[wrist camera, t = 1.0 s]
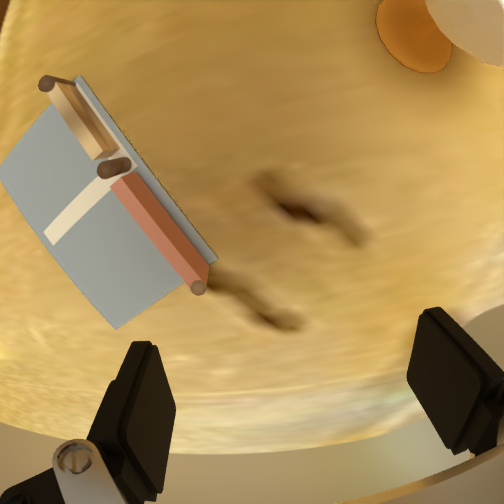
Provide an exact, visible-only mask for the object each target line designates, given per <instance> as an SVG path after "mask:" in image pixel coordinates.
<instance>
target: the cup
mask: <svg viewBox="0 0 504 504" xmlns="http://www.w3.org/2000/svg"><path fill="white" fill-rule="evenodd" d="M376 25H377V28H378V32H379V36H380V38H381V40H382V42H383V43H384V45H385V46H386V48H387V49H388V51H389V52H390V54H391V55H393V56H394V57H395V58H396V59H397V60H398V61H399V62H400V63H402V64H403V65H404V66H406V67H408V68H411V69H413V70H415V71H417V72H426V73H434V72H436V71H438V70H440V69H442V68H443V67H445V65H446V64H447V62H448V60H449V59H450V57H451V49H452V43H453V44H454V45H455V46H457V47H459V48H460V49H462V50H463V51H465V52H467V53H468V54H470V55H472V56H473V57H475V58H476V59H478V60H479V61H481V62H482V63H487V64H491V65H495V66H500V67H504V0H425V1H423V0H383V1H382V3H381V4H380V5H379V6H378V8H377V15H376Z"/></svg>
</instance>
